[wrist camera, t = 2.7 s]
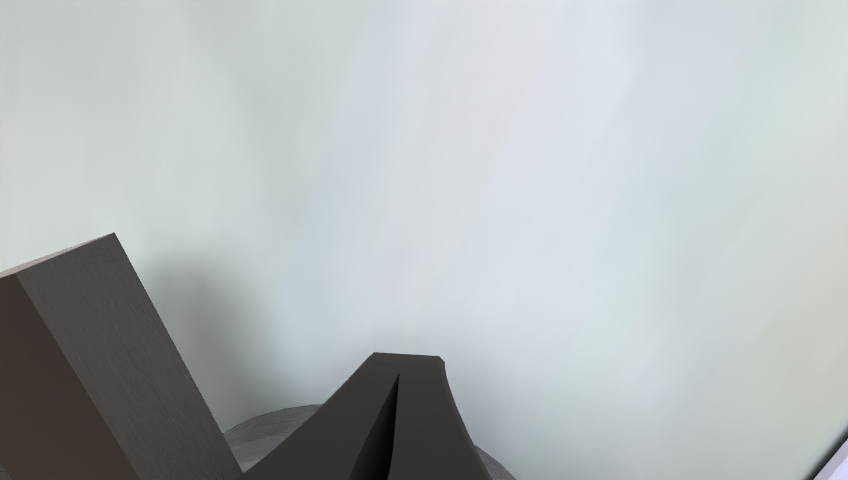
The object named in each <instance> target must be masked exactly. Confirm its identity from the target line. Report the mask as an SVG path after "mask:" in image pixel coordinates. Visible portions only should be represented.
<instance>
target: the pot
mask: <svg viewBox="0 0 848 480" xmlns="http://www.w3.org/2000/svg"><path fill="white" fill-rule="evenodd" d="M321 406H322V405H309V406H302V407H295V408H288V409H283V410H280V411H276V412H272V413H269V414H265V415H261V416H259V417H256V418H254V419H251V420H249V421H247V422H244V423H242V424H240V425H237V426H236V427H234V428H232V429H231V430H229V431H227V432H226V433H224V434H222V435H223V436H224V438H225V440H226V442H227V444H228V446H229V448H230V449H231V451H232V453H233V455H234V457H235V459H236V461H237V463H238V464H239V466H240V468H241V470H242V472H243V473H245V472H246V471H247V470H248V469H250V468H251V467H252V466H254V465H255V464H256V463H257V462H259V461H260V460H261V459H262V458H264V457H265V456H266V455H267V454H269V453H270V452H271V451H272V450H273V449H274V448H276V447H277V446H278V445H279V444H280V443H281V442H282V441H284V440H285V439H286V438H287V437H288V436H289V435H290V434H292V433H293V432H294V431H295V430H296V429H297V428H298V427H300V426H301V425H302V424H303V423H304V422H305V421H306V420H307V419H309V418H310V417H311V416H312V415H313V414H314V413H315V412H316V411H317V410H318V409H319V408H320V407H321ZM474 446H475V445H474ZM475 448H476V450H477V452H478V454H479V456H480V458H481V460H482V462H483V463H484V465H485V467H486V469H487V471H488V473H489V474H490V476H491V478H492V479H493V480H516V479H515V478H514V477H513V476H512V475H511V474H510V473H509V472H508V471H507V470H506V469H505V468H504V467H503V466H502V465H501V464H499V463H498V462H497V461H496V460H494V459H493V458H492V457H490V456H489V455H488V454H486V453H485V452H484V451H482V450H481V449H480V448H478V447H477V446H475ZM0 480H12V479H11V478H10V476H9V475H8V473H7V472H6V471H5V469H4V468H3V466H2V465H1V463H0Z"/></svg>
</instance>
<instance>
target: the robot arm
mask: <svg viewBox="0 0 848 480" xmlns="http://www.w3.org/2000/svg"><path fill="white" fill-rule="evenodd" d="M235 480H493V479H492V478H491V476H490V474H489V473H488V471H487V469H486V467H485V465H484V463H483V462H482V460H481V458H480V456H479V454H478V452H477V450H476V448H475V446H474V444H473V442H472V440H471V438H470V436H469V434H468V432H467V430H466V428H465V425H464V423H463V421H462V418H461V416H460V414H459V412H458V409H457V407H456V404H455V402H454V399H453V396H452V393H451V390H450V387H449V384H448V380H447V377H446V372H445V362H444V361H443V360H442V359H441V358H440V357H439V356H427V355H410V354H392V353H375V352H374V353H373V354H372V355H371V356H369V357H368V358H367V359H366V360H365V362H364V363H363V364H362V365H361V366H360V367H359V368H358V369H357V370H356V371H355V372H354V373H353V375H352V376H351V377H350V378H349V379H348V380H347V381H346V382H345V383H344V384H343V385H342V386H341V387H340V388H339V389H338V390H337V391H336V392H335V393H334V394H333V395H332V396H331V397H330V398H329V399H328V400H327V401H326V402H325V403H324V404H323V405H322V406H321V407H320V408H319V409H318V410H317V411H316V412H315V413H314V414H313V415H312V416H311V417H310V418H309V419H307V420H306V421H305V422H304V423H303V424H302V425H301V426H300V427H298V428H297V429H296V430H295V431H294V432H293V433H292V434H290V435H289V436H288V437H287V438H286V439H285V440H284V441H282V442H281V443H280V444H279V445H278V446H277V447H276V448H274V449H273V450H272V451H271V452H270V453H269V454H267V455H266V456H265V457H264V458H262V459H261V460H260V461H259V462H257V463H256V464H255V465H254V466H252V467H251V468H250V469H248V470H247V471H246V472H245V473H243V474H242V475H240V476H239V477H238V478H236V479H235ZM814 480H848V439H847V440H846V441H845V443H844V444H843V445H842V446H841V447H840V449H839V450H838V451H837V452H836V453H835V455H834V456H833V457H832V458H831V459H830V461H829V462H828V463H827V464H826V465H825V467H824V468H823V469H822V470H821V471H820V473H819V474H818V475H817V476H816V477H815V479H814Z"/></svg>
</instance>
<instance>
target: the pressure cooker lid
mask: <svg viewBox="0 0 848 480" xmlns="http://www.w3.org/2000/svg"><path fill="white" fill-rule="evenodd" d="M0 463H1V465H2V466H3V468H4V469H5V471H6V472H7V473H8V475H9V476H10V478H11V479H12V480H235V479H236V478H238V477H239V476H240V475H242V474H243V472H242V470H241V468H240V466H239V464H238V463H237V461H236V459H235V457H234V455H233V453H232V451H231V449H230V448H229V446H228V444H227V442H226V440H225V438H224V436H223V435H222V433H221V431H220V429H219V427H218V425H217V423H216V421H215V420H214V418H213V416H212V414H211V412H210V410H209V408H208V406H207V405H206V403H205V401H204V399H203V397H202V395H201V393H200V391H199V390H198V388H197V386H196V384H195V382H194V380H193V378H192V377H191V375H190V373H189V371H188V369H187V367H186V365H185V363H184V362H183V360H182V358H181V356H180V354H179V352H178V350H177V348H176V347H175V345H174V343H173V341H172V339H171V337H170V335H169V334H168V332H167V330H166V328H165V326H164V324H163V322H162V320H161V319H160V317H159V315H158V313H157V311H156V309H155V307H154V305H153V304H152V302H151V300H150V298H149V296H148V294H147V292H146V290H145V289H144V287H143V285H142V283H141V281H140V279H139V277H138V276H137V274H136V272H135V270H134V268H133V266H132V264H131V262H130V261H129V259H128V257H127V255H126V253H125V251H124V249H123V247H122V246H121V244H120V242H119V240H118V238H117V236H116V234H115V233H111V234H108V235H105V236H102V237H100V238H97V239H94V240H91V241H88V242H85V243H82V244H79V245H76V246H74V247H71V248H68V249H65V250H62V251H59V252H56V253H53V254H50V255H48V256H45V257H42V258H39V259H36V260H33V261H30V262H27V263H24V264H22V265H19V266H16V267H13V268H11V269H8V270H6V271H3V272H1V273H0Z"/></svg>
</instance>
